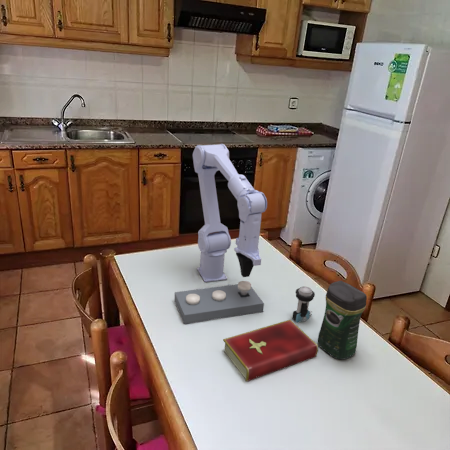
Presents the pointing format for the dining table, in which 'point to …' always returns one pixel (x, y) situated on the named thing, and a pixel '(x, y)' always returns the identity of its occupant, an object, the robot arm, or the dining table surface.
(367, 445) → the dining table surface
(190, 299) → the knob
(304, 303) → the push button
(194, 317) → the knob panel
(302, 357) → the hardcover book
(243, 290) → the knob
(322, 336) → the coffee jar
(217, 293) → the knob middle
